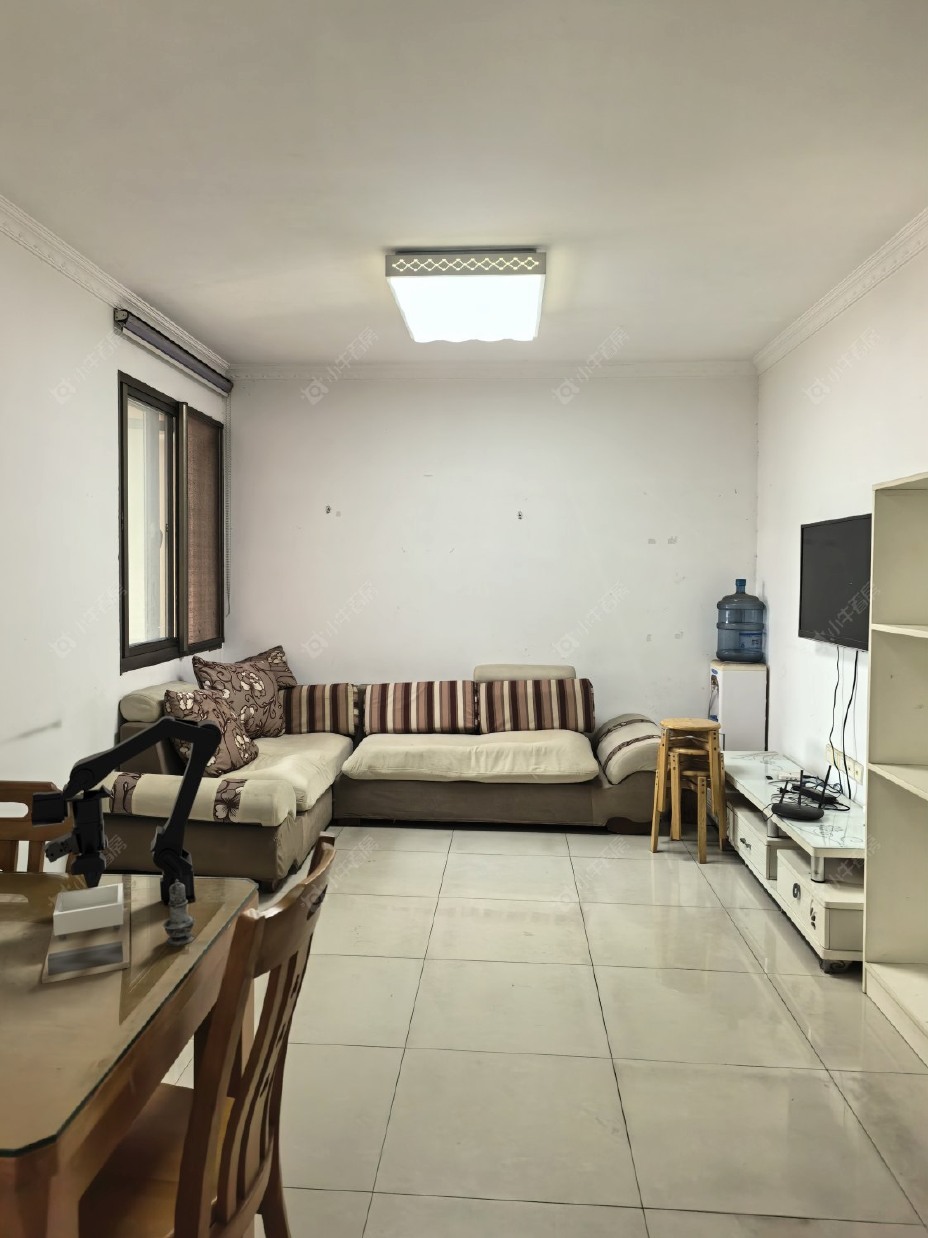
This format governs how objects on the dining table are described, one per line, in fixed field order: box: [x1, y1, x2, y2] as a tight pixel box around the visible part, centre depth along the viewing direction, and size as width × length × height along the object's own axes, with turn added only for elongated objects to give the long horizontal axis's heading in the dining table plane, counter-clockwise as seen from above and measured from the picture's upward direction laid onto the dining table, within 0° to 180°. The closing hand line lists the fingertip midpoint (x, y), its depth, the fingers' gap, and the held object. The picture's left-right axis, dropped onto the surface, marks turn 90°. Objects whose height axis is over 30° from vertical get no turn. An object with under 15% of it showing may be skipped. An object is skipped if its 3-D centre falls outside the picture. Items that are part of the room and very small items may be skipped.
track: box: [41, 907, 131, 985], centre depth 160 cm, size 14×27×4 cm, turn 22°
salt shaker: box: [162, 879, 196, 947], centre depth 160 cm, size 6×6×12 cm
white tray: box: [52, 882, 125, 940], centre depth 166 cm, size 12×12×5 cm
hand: (92, 893), depth 175 cm, fingers closed
